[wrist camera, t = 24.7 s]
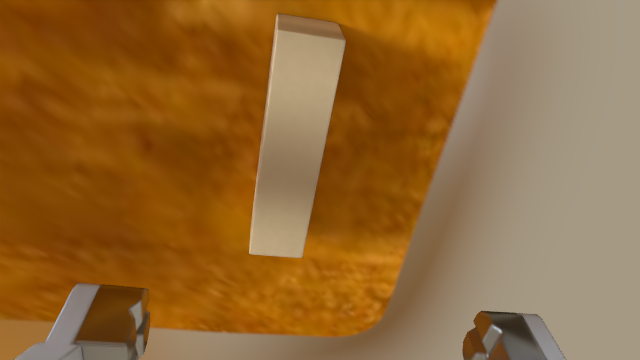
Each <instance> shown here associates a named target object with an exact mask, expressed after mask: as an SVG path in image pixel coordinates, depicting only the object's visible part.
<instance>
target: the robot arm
mask: <svg viewBox="0 0 640 360" xmlns="http://www.w3.org/2000/svg"><path fill="white" fill-rule="evenodd" d="M148 302H149V290H148V289H146V288H135V287H125V286H114V285H103V284H102V285H100V284H88V283H78V284H77V285H76V286H75V287H74V288H73V289H72V291H71V293H70V295H69V297H68V299H67V301H66V303H65V305H64V307H63V309H62V311H61V313H60V315H59V317H58V318H57V320H56V322H55V324H54V326H53V328H52V330H51V332H50V334H49V336H48V338H47V340H46V342H45V343H36V344H35V345H33V346H32V347H30V348H29V349H28V350H26V351H25V352H23V353H22V354H20V355H19V356H18V357H16V358H15V359H13V360H138V359H139V358H140V357H141V356H142V355H143V354H144V352H145V348H146V344H147V340H148V334H149V328H150V313H149V312H148V311H147V310H146V309H147V306H148ZM474 324H475V326H476V327H475V328H474V329H472V330H470V331H469V332H467V334H466V337H465V339H464V341H463V357H464V360H566V358H565V356H564V355H563V353H562V351H561V350H560V348H559V346H558V345H557V343H556V341H555V340H554V338H553V336H552V335H551V333H550V331H549V330H548V328H547V326H546V325H545V323H544V321H543V320H542V318H541V317H540V316H538V315H537V314H523V313H509V312H508V313H507V312H489V311H481V312H479V313H478V314H477V315H476V317H475V319H474Z"/></svg>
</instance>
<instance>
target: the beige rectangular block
mask: <svg viewBox="0 0 640 360" xmlns="http://www.w3.org/2000/svg"><path fill="white" fill-rule="evenodd" d="M345 44H346V40H345V38H344V35H343V33H342V31H341V29H340V27H339V24H338V23H334V22H328V21H322V20H316V19H309V18H303V17H297V16H291V15H285V14H277V15H276V23H275V31H274V39H273V48H272V56H271V64H270V72H269V81H268V89H267V97H266V105H265V114H264V122H263V130H262V138H261V147H260V155H259V163H258V171H257V179H256V188H255V196H254V204H253V212H252V221H251V234H250V249H249V253H250V254H255V255H268V256H281V257H294V258H302V255H303V250H304V245H305V241H306V236H307V231H308V226H309V221H310V216H311V211H312V206H313V201H314V196H315V191H316V187H317V182H318V177H319V172H320V167H321V162H322V157H323V152H324V147H325V142H326V137H327V133H328V128H329V123H330V118H331V113H332V108H333V103H334V98H335V93H336V88H337V83H338V79H339V74H340V69H341V64H342V59H343V54H344V49H345Z"/></svg>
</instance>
